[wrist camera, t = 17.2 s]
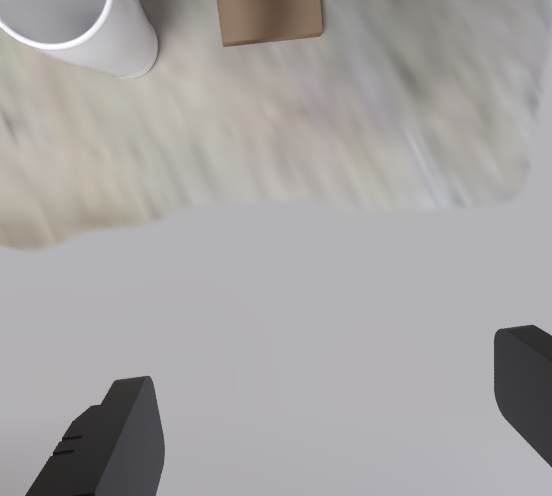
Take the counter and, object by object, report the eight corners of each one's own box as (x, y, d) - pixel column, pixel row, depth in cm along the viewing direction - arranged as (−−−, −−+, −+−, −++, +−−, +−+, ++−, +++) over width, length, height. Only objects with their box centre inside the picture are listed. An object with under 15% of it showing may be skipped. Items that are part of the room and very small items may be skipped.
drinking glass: (89, -10, 35) (-24, -125, 20) (175, 13, 36) (126, -82, 21) (77, 78, 36) (-37, 31, 22) (160, 99, 37) (104, 66, 22)
